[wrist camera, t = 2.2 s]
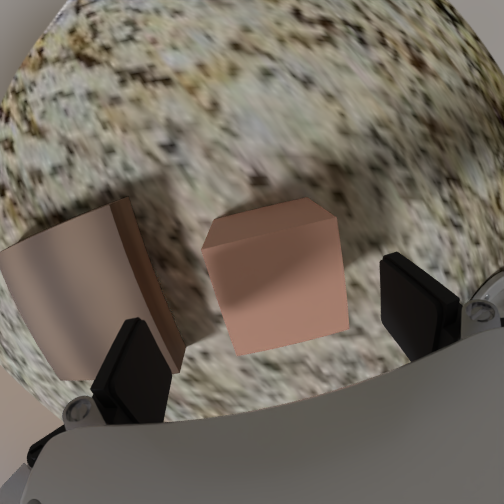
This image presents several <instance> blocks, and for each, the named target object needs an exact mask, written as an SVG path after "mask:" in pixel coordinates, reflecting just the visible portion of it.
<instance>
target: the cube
mask: <svg viewBox="0 0 504 504" xmlns="http://www.w3.org/2000/svg"><path fill="white" fill-rule="evenodd" d="M201 251H202V254H203V257H204V260H205V263H206V267H207V270H208V273H209V276H210V279H211V282H212V285H213V288H214V291H215V294H216V297H217V300H218V303H219V306H220V309H221V312H222V315H223V318H224V321H225V324H226V327H227V329H228V332H229V335H230V338H231V341H232V344H233V346H234V349H235V352H236V355H237V356H240V355H246V354H251V353H255V352H260V351H265V350H270V349H274V348H279V347H283V346H287V345H292V344H296V343H300V342H304V341H308V340H312V339H315V338H319V337H323V336H327V335H330V334H334V333H337V332H341V331H344V330H348V329H349V318H348V306H347V295H346V285H345V276H344V267H343V259H342V251H341V244H340V237H339V230H338V223H337V217H335V216H334V215H332V214H331V213H330V212H328V211H327V210H325V209H324V208H322V207H321V206H319V205H318V204H316V203H315V202H314V201H312V200H311V199H309V198H308V197H306V198H301V199H297V200H292V201H288V202H283V203H279V204H275V205H270V206H266V207H262V208H258V209H254V210H250V211H245V212H241V213H237V214H233V215H229V216H225V217H221V218H217V219H214V220H213V223H212V225H211V227H210V230H209V232H208V235H207V237H206V239H205V242H204V244H203V247H202V249H201Z"/></svg>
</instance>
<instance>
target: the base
mask: <svg viewBox="0 0 504 504" xmlns="http://www.w3.org/2000/svg"><path fill="white" fill-rule="evenodd" d="M0 270H1V272H2V275H3V277H4V279H5V282H6V284H7V286H8V289H9V291H10V293H11V295H12V297H13V300H14V302H15V304H16V306H17V308H18V310H19V312H20V314H21V316H22V318H23V320H24V322H25V323H26V325H27V327H28V329H29V331H30V333H31V334H32V336H33V338H34V340H35V341H36V343H37V345H38V346H39V348H40V350H41V351H42V353H43V354H44V356H45V358H46V359H47V361H48V362H49V364H50V365H51V367H52V368H53V370H54V371H55V373H56V374H57V376H58V377H59V379H60V380H95V378H96V376H97V374H98V372H99V370H100V368H101V366H102V363H103V361H104V359H105V357H106V355H107V353H108V352H109V350H110V348H111V346H112V344H113V342H114V340H115V338H116V336H117V334H118V332H119V330H120V328H121V327H122V325H123V323H124V321H125V320H126V319H131V318H136V317H139V318H141V320H145V321H146V323H147V325H148V327H149V329H150V331H151V333H152V335H153V337H154V339H155V341H156V343H157V345H158V347H159V348H160V350H161V352H162V354H163V356H164V358H165V360H166V362H167V363H168V365H169V367H170V369H171V372H172V374H176V373H180V369H181V365H182V361H183V357H184V353H185V349H186V346H185V344H184V342H183V340H182V338H181V335H180V333H179V331H178V329H177V326H176V324H175V322H174V320H173V317H172V315H171V312H170V310H169V308H168V305H167V303H166V300H165V298H164V296H163V293H162V291H161V288H160V286H159V283H158V280H157V278H156V275H155V273H154V270H153V267H152V265H151V262H150V259H149V256H148V254H147V251H146V248H145V245H144V242H143V239H142V237H141V234H140V231H139V228H138V225H137V222H136V218H135V215H134V212H133V209H132V206H131V203H130V199H129V196H128V197H126V198H123V199H120V200H117V201H114V202H112V203H109V204H106V205H104V206H101V207H98V208H96V209H93V210H91V211H88V212H86V213H83V214H81V215H78V216H76V217H73V218H71V219H68V220H66V221H64V222H61V223H59V224H57V225H54V226H52V227H50V228H47V229H45V230H43V231H41V232H39V233H36V234H34V235H32V236H30V237H28V238H26V239H24V240H21V241H19V242H17V243H15V244H14V245H12V246H10V247H8V248H6V249H4V250H3V251H1V252H0Z"/></svg>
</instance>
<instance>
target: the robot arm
mask: <svg viewBox="0 0 504 504" xmlns="http://www.w3.org/2000/svg"><path fill="white" fill-rule="evenodd" d="M380 288H381V321H382V323H383V325H384V327H385V328H386V329H387V330H388V332H389V333H390V334H391V336H392V337H393V338H394V340H395V341H396V342H397V343H398V345H399V346H400V347H401V349H402V350H403V351H404V353H405V354H406V355H407V357H408V358H409V360H410V361H411V362H410V363H408V364H406V365H403V366H401V367H398V368H396V369H393V370H391V371H388V372H386V373H383V374H381V375H378V376H375V377H373V378H370V379H367V380H364V381H361V382H358V383H356V384H353V385H349V386H346V387H343V388H340V389H337V390H334V391H330V392H327V393H324V394H320V395H317V396H313V397H309V398H306V399H302V400H298V401H294V402H290V403H286V404H282V405H277V406H273V407H268V408H263V409H259V410H253V411H248V412H243V413H237V414H231V415H225V416H218V417H211V418H204V419H195V420H186V421H176V422H163V421H164V416H165V410H166V405H167V400H168V395H169V390H170V385H171V380H172V372H171V369H170V367H169V365H168V363H167V362H166V360H165V358H164V356H163V354H162V352H161V350H160V348H159V347H158V345H157V343H156V341H155V339H154V337H153V335H152V333H151V331H150V329H149V327H148V325H147V323H146V321H145V320H141V318H139V317H136V318H131V319H126V320H125V321H124V323H123V325H122V327H121V328H120V330H119V332H118V334H117V336H116V338H115V340H114V342H113V344H112V346H111V348H110V350H109V352H108V353H107V355H106V357H105V359H104V361H103V363H102V366H101V368H100V370H99V372H98V374H97V376H96V378H95V380H94V382H93V384H92V386H91V389H90V390H91V391H92V393H93V396H92V398H91V397H89V396H80V397H77V398H75V399H73V400H72V401H70V402H69V403H68V404H67V405H66V407H65V409H64V410H63V414H62V418H63V422H64V425H62V426H61V427H59V428H58V429H56V430H55V431H53V432H52V433H50V434H49V435H47V436H45V437H44V438H42V439H41V440H39V441H38V442H36V443H35V444H33V445H32V446H31V447H30V449H29V452H28V454H27V462H28V465H26V464H25V463H23V465H21V467H20V468H19V469H18V470H17V471H16V472H15V473H14V474H13V475H12V476H11V477H10V478H9V479H8V480H7V481H6V482H5V483H4V485H3V486H2V487H1V488H0V504H504V271H502V272H500V273H498V274H496V275H495V276H494V277H492V278H491V279H490V280H488V281H487V282H486V283H485V284H484V285H483V286H482V287H481V289H480V290H479V291H478V292H477V293H476V295H475V296H474V297H473V299H472V300H471V301H468V302H467V303H465V304H464V306H462V305H461V304H460V303H459V301H460V298H459V297H457V296H456V295H455V294H454V293H452V292H451V291H450V290H448V289H447V288H446V287H445V286H443V285H442V284H441V283H439V282H438V281H437V280H436V279H434V278H433V277H432V276H430V275H429V274H428V273H426V272H425V271H424V270H422V269H421V268H419V267H418V266H417V265H415V264H414V263H413V262H411V261H410V260H408V259H407V258H406V257H404V256H403V255H401V254H400V253H399V252H394V253H391V254H387V255H384V256H383V260H381V261H380Z"/></svg>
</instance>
